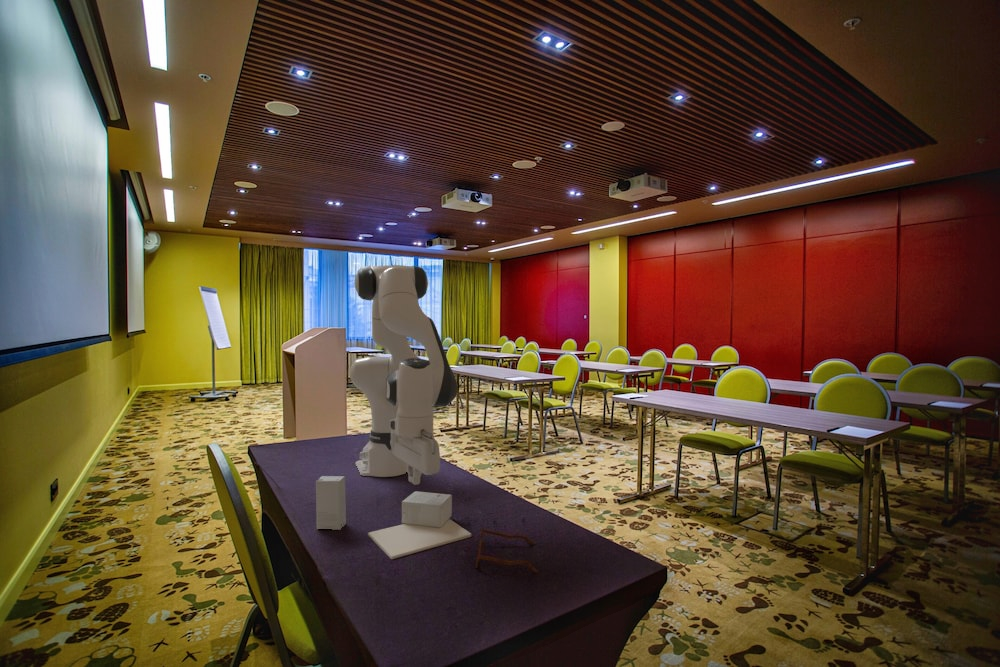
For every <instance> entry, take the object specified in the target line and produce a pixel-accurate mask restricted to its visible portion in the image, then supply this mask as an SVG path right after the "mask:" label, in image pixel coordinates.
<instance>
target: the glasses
mask: <svg viewBox="0 0 1000 667" xmlns="http://www.w3.org/2000/svg"><path fill="white" fill-rule="evenodd" d="M484 533H485V534H489V535H493V536H498V537H503V538H507V539H516V538H517V539H524V541H526V542H528V543H529V544H530V545H532V544H536V542H534V541H532V540H531V539H530V537H528V536H526V535H521V534H508V533H507V534H506V533H503V532H499V531H494V530H489V529H485V526H482V527H481V532H480V537H479V542H478V547H477V548H478V552H477V555H476V562H475V567H474V568H475V569H478V566H479V562H480V560H485V561H491V562H495V563H499V564H504V565H508V566H511V565H512V566H513V565H517V564H518V565H525V566H526V567H528V569H530V570H531V571H532V572H533V571H538V570H537V568H535V567H534V566H533V565H532V564H531V563H530V562H529V561H526V560H520V559H518V560H506V559H501V558H497V557H494V556H493V557H492V556H488V555H484V554H481V553H482V547H483V535H484Z"/></svg>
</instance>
